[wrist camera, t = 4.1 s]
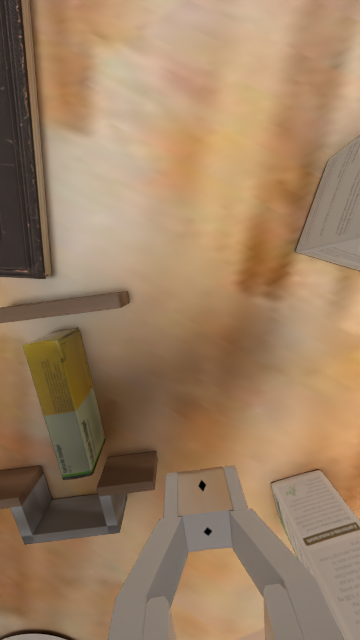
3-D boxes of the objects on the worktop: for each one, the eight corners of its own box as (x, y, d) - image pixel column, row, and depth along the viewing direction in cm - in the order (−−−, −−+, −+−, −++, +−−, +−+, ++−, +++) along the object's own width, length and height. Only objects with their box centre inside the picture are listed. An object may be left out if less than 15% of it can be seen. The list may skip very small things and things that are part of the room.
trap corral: (163, 493, 21) (161, 527, 18) (-46, 519, 21) (-81, 557, 18) (127, 291, 17) (117, 293, 14) (-139, 324, 17) (-205, 334, 14)
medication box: (108, 439, 20) (93, 478, 16) (82, 443, 20) (60, 483, 16) (81, 326, 18) (55, 339, 14) (51, 330, 18) (16, 345, 14)
